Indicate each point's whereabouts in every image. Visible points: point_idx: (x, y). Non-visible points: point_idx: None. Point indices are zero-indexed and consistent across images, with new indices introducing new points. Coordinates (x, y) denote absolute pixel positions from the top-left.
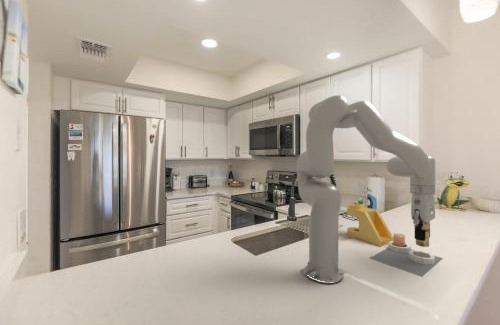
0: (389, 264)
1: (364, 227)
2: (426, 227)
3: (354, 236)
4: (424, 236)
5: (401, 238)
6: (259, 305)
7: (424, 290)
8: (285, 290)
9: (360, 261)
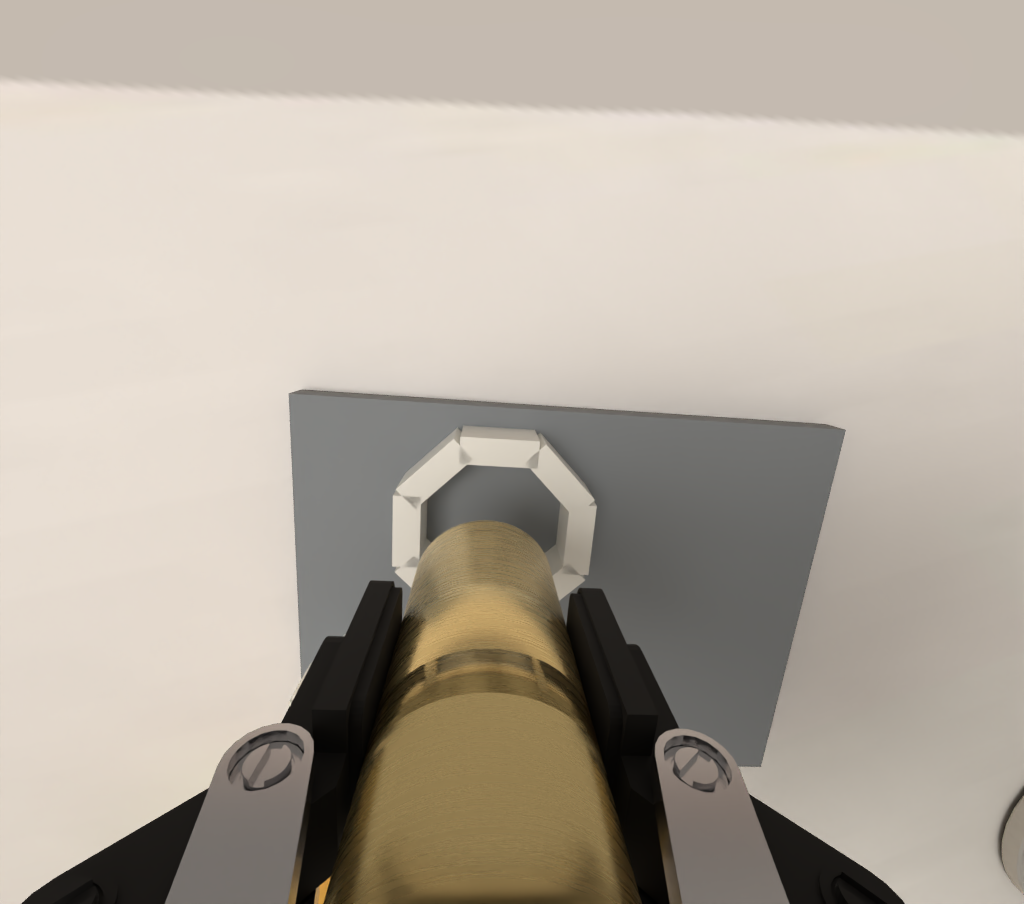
0: (777, 643)
1: None
2: (573, 752)
3: None
4: (620, 631)
5: None
6: None
7: (971, 376)
8: None
9: (788, 775)
